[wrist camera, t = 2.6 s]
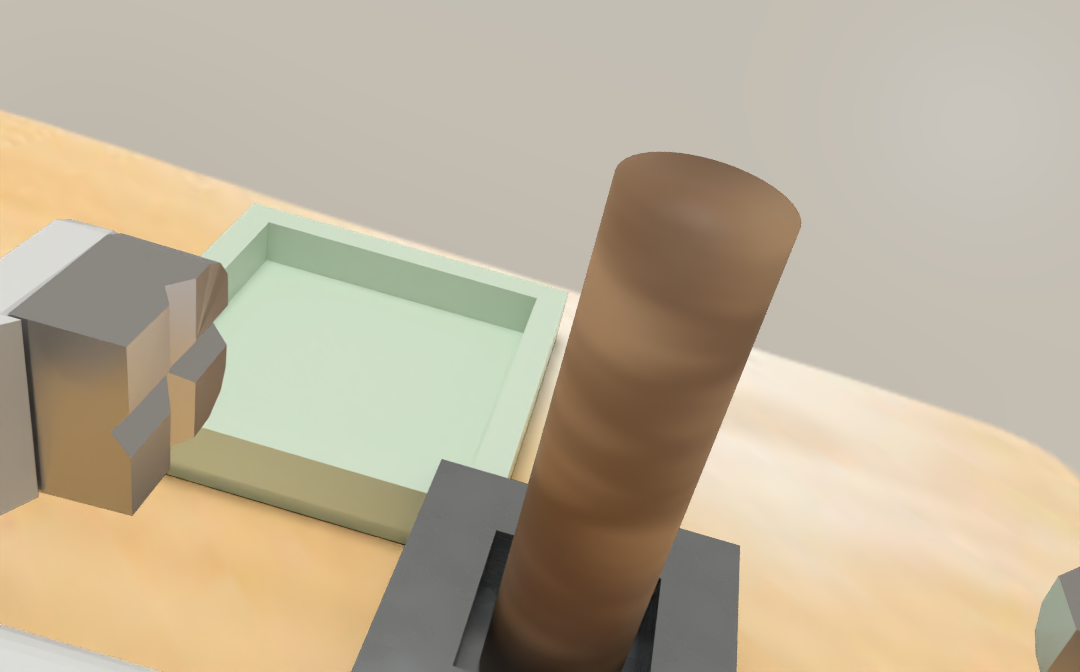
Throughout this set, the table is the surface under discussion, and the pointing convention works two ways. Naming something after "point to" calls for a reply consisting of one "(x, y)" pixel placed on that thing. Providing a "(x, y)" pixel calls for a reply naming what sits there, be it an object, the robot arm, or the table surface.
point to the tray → (363, 371)
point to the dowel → (636, 405)
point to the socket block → (476, 573)
